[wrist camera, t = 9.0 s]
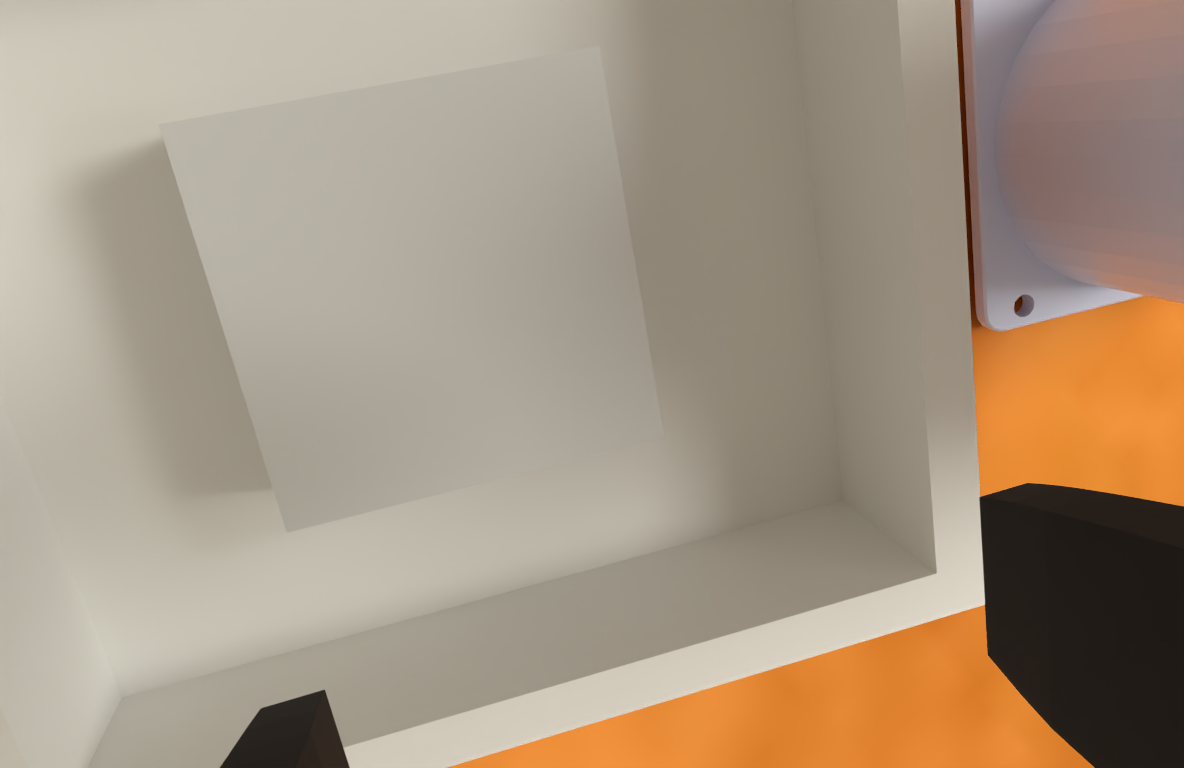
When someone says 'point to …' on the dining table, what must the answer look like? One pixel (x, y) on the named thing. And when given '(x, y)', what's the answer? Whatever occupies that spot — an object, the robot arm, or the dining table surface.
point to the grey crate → (468, 362)
